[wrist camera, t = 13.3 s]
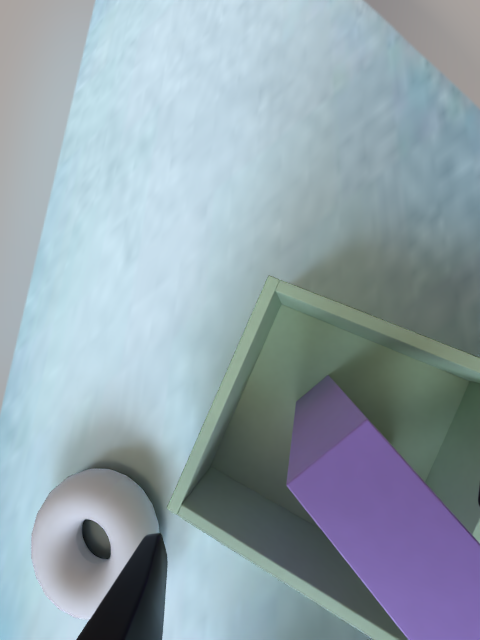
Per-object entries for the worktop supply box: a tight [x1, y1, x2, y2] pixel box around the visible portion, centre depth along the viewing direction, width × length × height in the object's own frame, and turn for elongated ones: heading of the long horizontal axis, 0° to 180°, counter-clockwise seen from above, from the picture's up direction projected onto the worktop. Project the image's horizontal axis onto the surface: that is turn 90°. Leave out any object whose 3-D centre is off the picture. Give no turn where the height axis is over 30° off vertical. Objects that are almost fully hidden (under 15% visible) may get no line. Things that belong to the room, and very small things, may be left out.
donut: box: [31, 469, 159, 620], centre depth 22 cm, size 10×4×10 cm
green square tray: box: [167, 276, 480, 640], centre depth 18 cm, size 14×14×6 cm
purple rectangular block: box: [286, 375, 480, 640], centre depth 14 cm, size 6×3×13 cm, turn 41°
